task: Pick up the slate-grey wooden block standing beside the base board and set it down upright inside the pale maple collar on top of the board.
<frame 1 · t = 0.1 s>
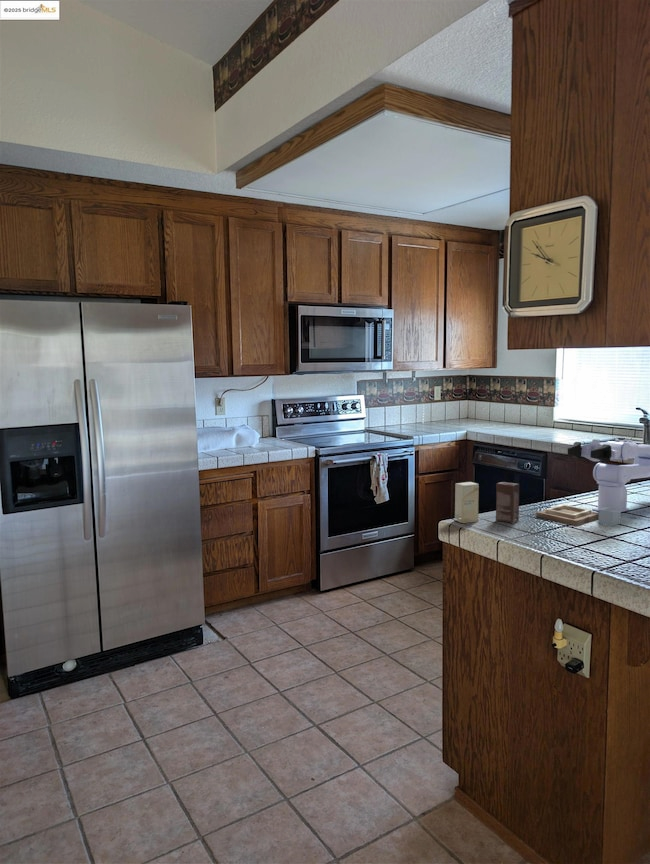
hand: (580, 452, 190), 22 cm above the counter, tool horizontal, fingers open, 7 cm apart
base board: (568, 517, 196), on the counter
skincare box: (466, 521, 194), on the counter
block: (609, 523, 188), on the counter
box: (507, 521, 194), on the counter
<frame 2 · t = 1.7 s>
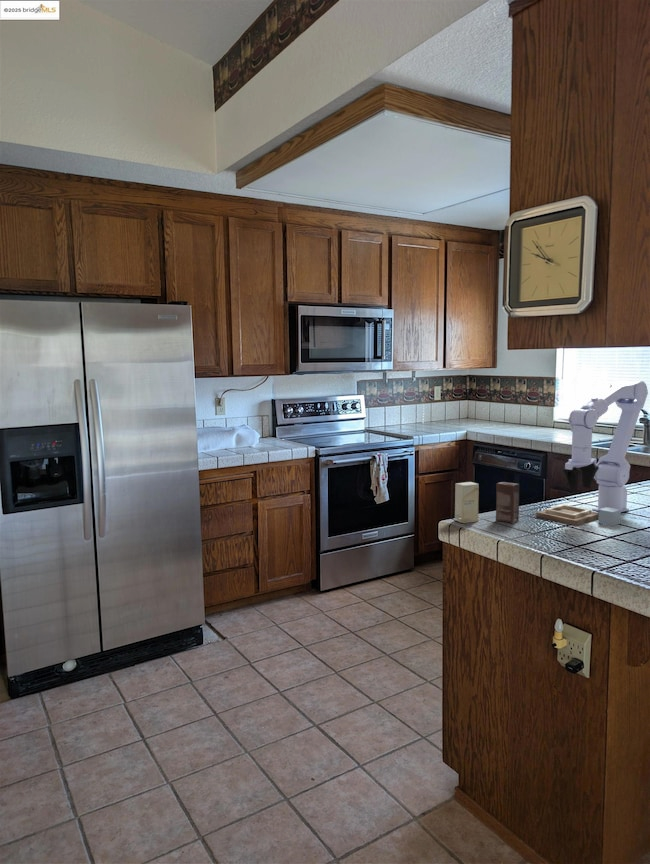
hand: (580, 489, 194), 9 cm above the counter, tool pointing down, fingers open, 7 cm apart
nothing on the counter moved.
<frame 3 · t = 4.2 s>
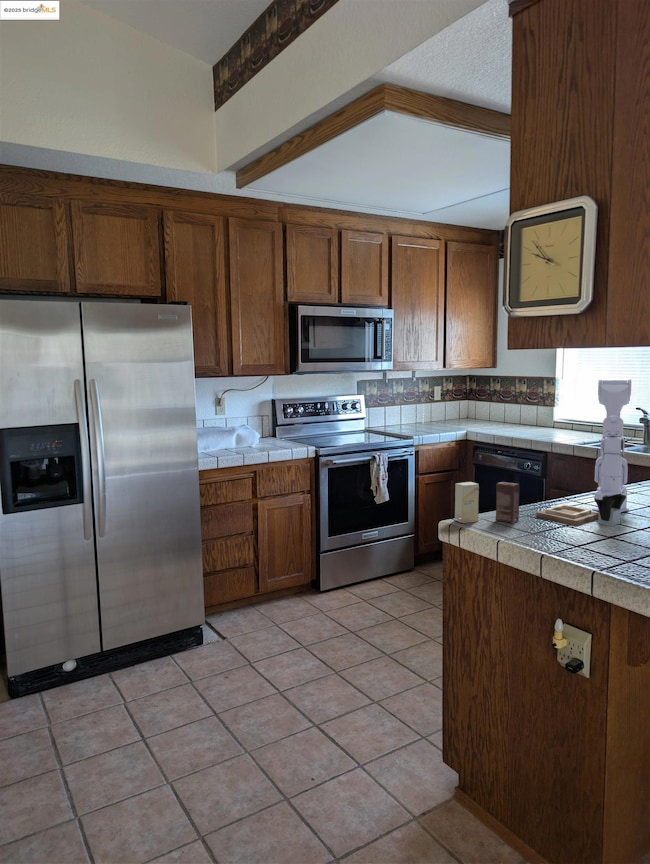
hand: (609, 518, 188), 1 cm above the counter, tool pointing down, fingers closed on block, 4 cm apart
block: (609, 523, 188), on the counter, touching gripper
everything else where it was.
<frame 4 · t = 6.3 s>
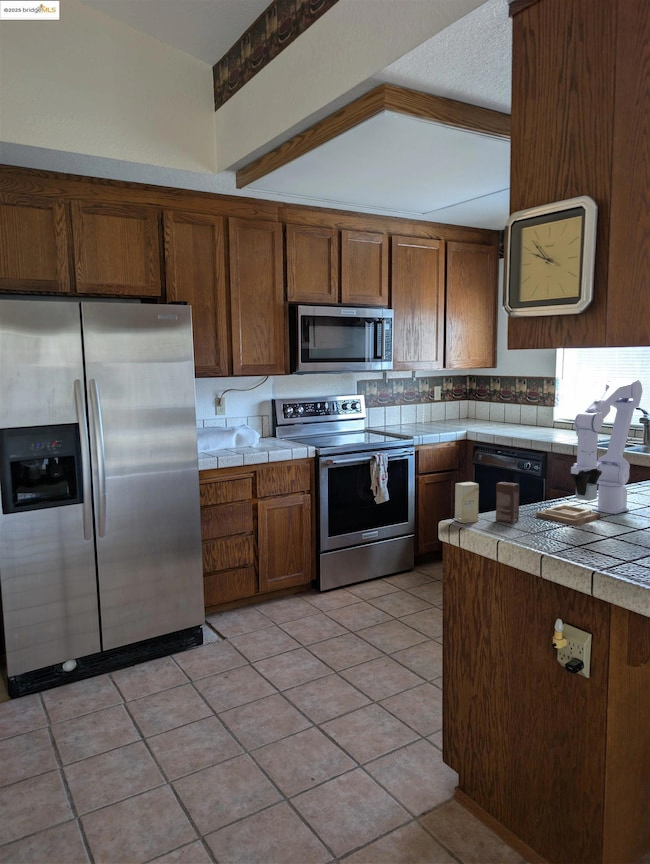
hand: (585, 493, 192), 8 cm above the counter, tool pointing down, fingers closed on block, 4 cm apart
block: (586, 498, 192), point 7 cm above the counter, touching gripper
everything else where it was.
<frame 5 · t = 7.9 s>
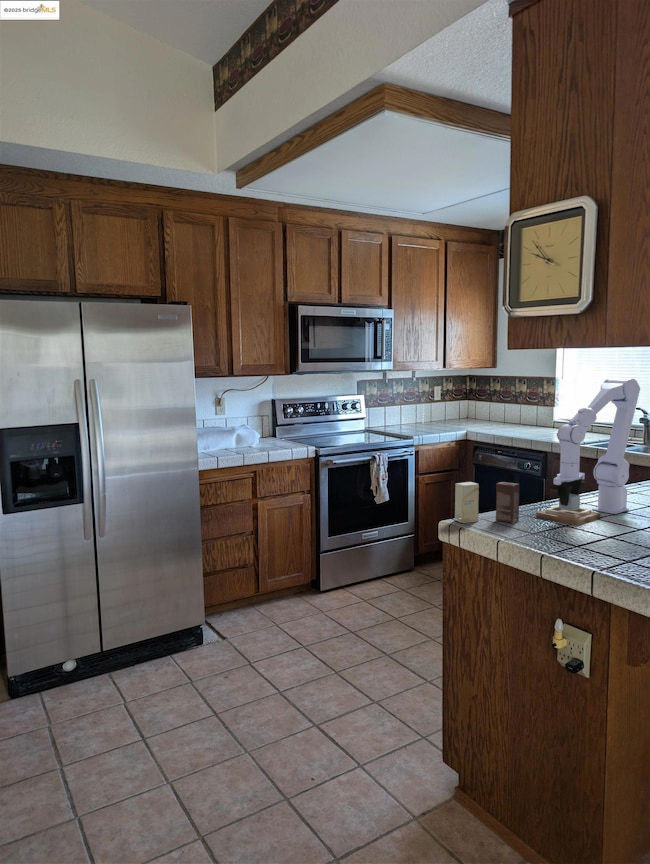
hand: (568, 503, 196), 4 cm above the counter, tool pointing down, fingers closed on block, 4 cm apart
block: (569, 508, 196), point 3 cm above the counter, touching gripper
everything else where it was.
when the fingers open (4 cm above the counter, at t = 8.8 s): block drops 1 cm, resting on base board.
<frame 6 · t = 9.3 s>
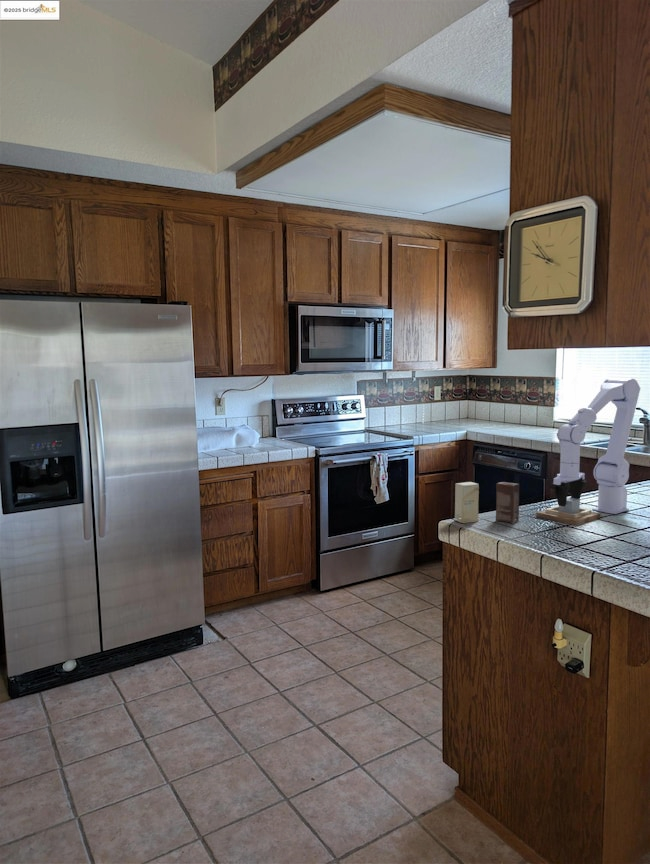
hand: (568, 503, 196), 4 cm above the counter, tool pointing down, fingers open, 7 cm apart
block: (569, 512, 196), point 1 cm above the counter, touching base board
everything else where it was.
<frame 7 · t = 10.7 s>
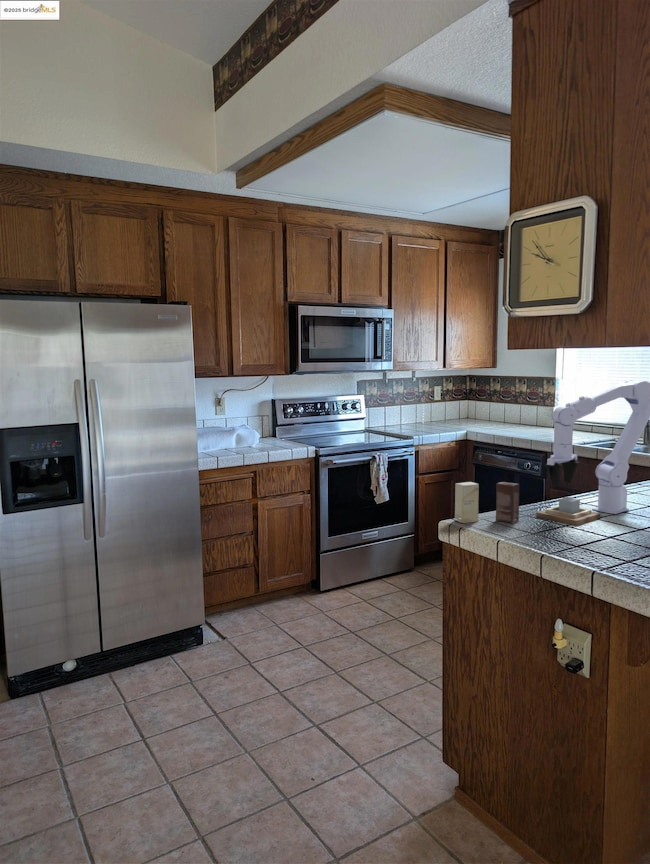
hand: (561, 484, 202), 9 cm above the counter, tool pointing down, fingers open, 7 cm apart
nothing on the counter moved.
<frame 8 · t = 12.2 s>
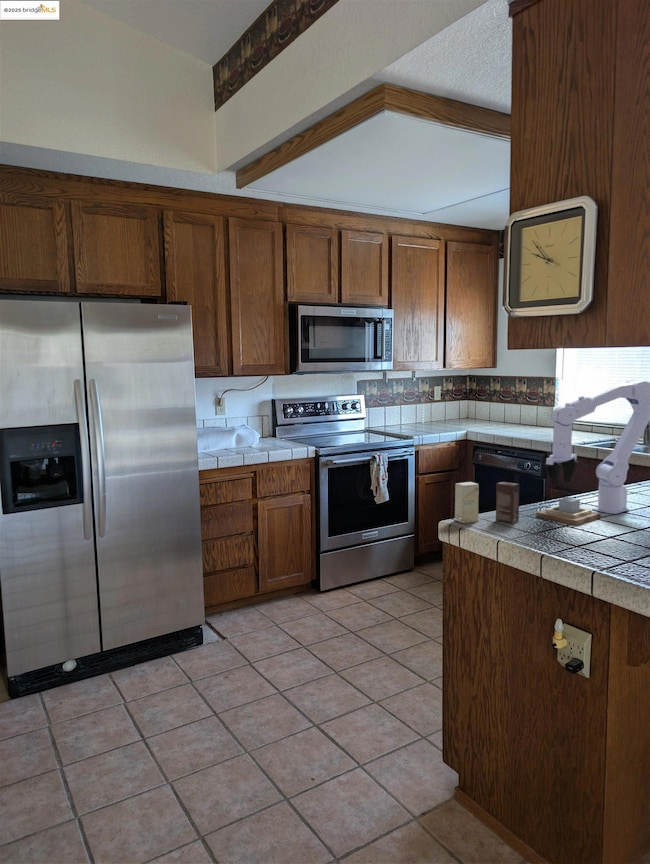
hand: (560, 483, 203), 9 cm above the counter, tool pointing down, fingers open, 7 cm apart
nothing on the counter moved.
at the end: block 0.3 cm off-centre on the base board, point 1.5 cm above the base board's base; block tilted 0°; the gripper is holding nothing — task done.
